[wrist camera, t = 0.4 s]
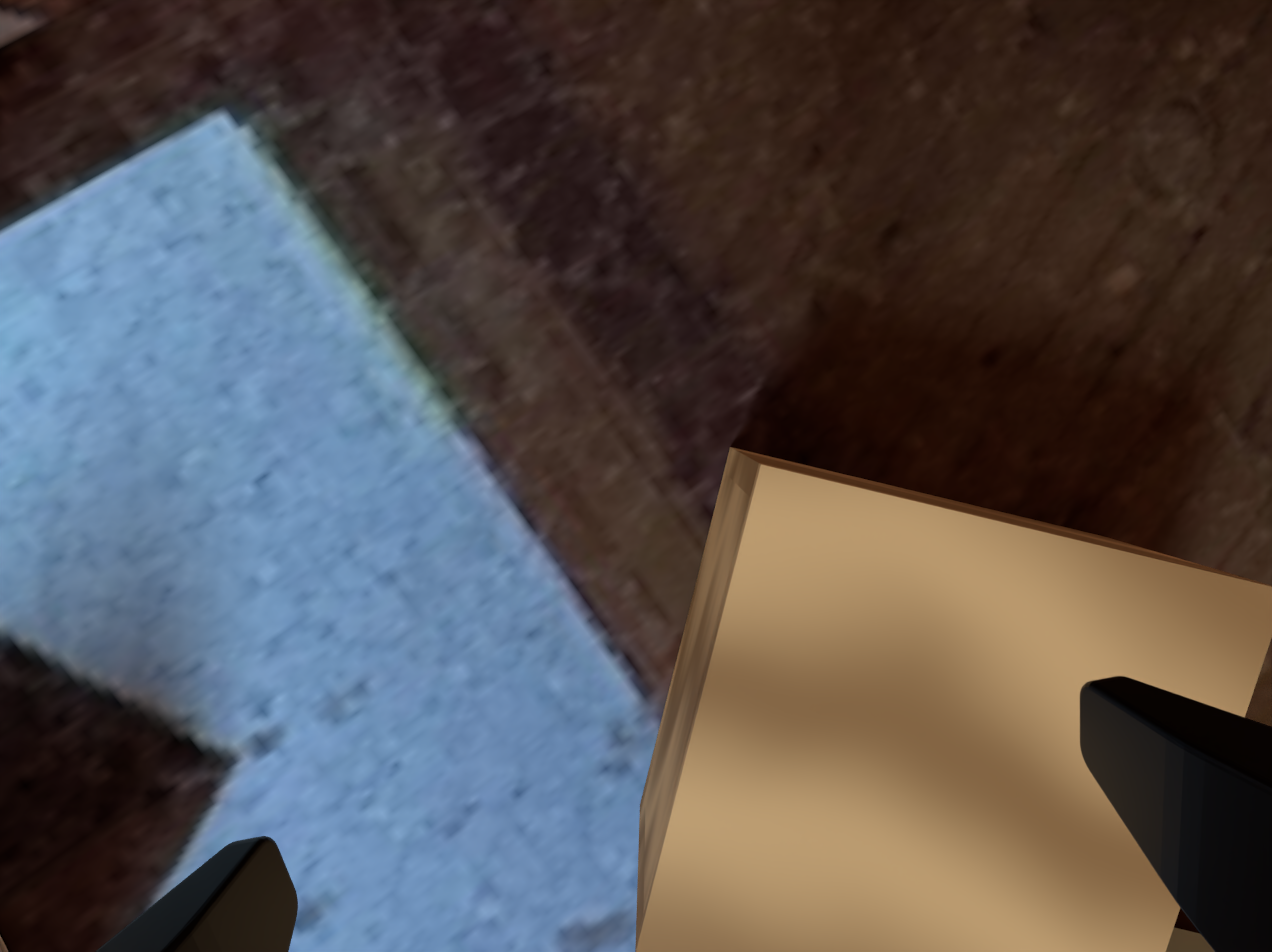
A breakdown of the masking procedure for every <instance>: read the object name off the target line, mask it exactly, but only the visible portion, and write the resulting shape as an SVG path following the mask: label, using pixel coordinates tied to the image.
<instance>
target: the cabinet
mask: <svg viewBox="0 0 1272 952" xmlns="http://www.w3.org/2000/svg"><path fill="white" fill-rule="evenodd" d="M1271 638H1272V586H1271V585H1267V584H1264V583H1261V582H1257V581H1254V580H1250V579H1247V578H1244V577H1240V576H1237V575H1233V574H1230V573H1227V572H1223V571H1220V570H1216V569H1213V568H1210V567H1206V566H1203V565H1200V564H1196V563H1193V562H1189V561H1186V560H1183V559H1179V558H1176V557H1172V556H1169V555H1166V554H1162V553H1159V552H1155V551H1152V550H1149V549H1145V548H1142V547H1139V546H1135V545H1132V544H1128V543H1125V542H1122V541H1118V540H1115V539H1111V538H1108V537H1104V536H1100V535H1096V534H1092V533H1087V532H1083V531H1079V530H1075V529H1071V528H1066V527H1062V526H1058V525H1054V524H1050V523H1046V522H1041V521H1037V520H1033V519H1029V518H1025V517H1021V516H1016V515H1012V514H1008V513H1004V512H1000V511H995V510H991V509H987V508H983V507H979V506H975V505H970V504H966V503H962V502H958V501H954V500H950V499H945V498H941V497H937V496H933V495H929V494H924V493H920V492H916V491H912V490H908V489H904V488H899V487H895V486H891V485H887V484H883V483H879V482H874V481H870V480H866V479H862V478H858V477H853V476H849V475H845V474H841V473H837V472H833V471H828V470H824V469H820V468H816V467H812V466H808V465H803V464H799V463H795V462H791V461H787V460H782V459H778V458H774V457H770V456H766V455H762V454H757V453H753V452H749V451H745V450H741V449H737V448H732V447H730V450H729V454H728V458H727V462H726V466H725V470H724V474H723V478H722V482H721V486H720V490H719V494H718V498H717V501H716V505H715V509H714V513H713V517H712V521H711V525H710V529H709V533H708V537H707V541H706V545H705V549H704V553H703V557H702V561H701V565H700V569H699V573H698V577H697V581H696V585H695V589H694V593H693V597H692V601H691V605H690V609H689V613H688V617H687V621H686V625H685V629H684V633H683V637H682V640H681V644H680V648H679V652H678V656H677V660H676V664H675V668H674V672H673V676H672V680H671V684H670V688H669V692H668V696H667V700H666V704H665V708H664V712H663V716H662V720H661V724H660V728H659V732H658V736H657V740H656V744H655V748H654V752H653V756H652V760H651V764H650V768H649V772H648V776H647V779H646V783H645V787H644V791H643V795H642V799H641V803H640V824H639V856H638V888H637V920H636V952H1166V949H1167V946H1168V943H1169V940H1170V937H1171V934H1172V931H1173V928H1174V925H1175V922H1176V919H1177V916H1178V913H1179V910H1180V906H1179V905H1178V904H1177V902H1176V901H1175V899H1174V898H1173V897H1172V895H1171V894H1170V892H1169V891H1168V889H1167V888H1166V886H1165V885H1164V884H1163V882H1162V881H1161V879H1160V878H1159V876H1158V875H1157V873H1156V872H1155V870H1154V869H1153V867H1152V866H1151V864H1150V862H1149V861H1148V859H1147V858H1146V856H1145V855H1144V853H1143V852H1142V850H1141V849H1140V847H1139V846H1138V844H1137V843H1136V841H1135V840H1134V838H1133V837H1132V835H1131V833H1130V832H1129V830H1128V829H1127V827H1126V826H1125V824H1124V823H1123V821H1122V820H1121V818H1120V817H1119V815H1118V814H1117V812H1116V811H1115V809H1114V808H1113V806H1112V804H1111V803H1110V801H1109V800H1108V798H1107V797H1106V795H1105V794H1104V792H1103V791H1102V789H1101V788H1100V786H1099V785H1098V783H1097V782H1096V780H1095V779H1094V777H1093V775H1092V774H1091V772H1090V771H1089V769H1088V767H1087V766H1086V763H1085V761H1084V759H1083V756H1082V753H1081V748H1080V691H1081V688H1082V686H1083V685H1084V684H1085V683H1087V682H1089V681H1093V680H1098V679H1103V678H1109V677H1114V676H1125V677H1129V678H1131V679H1134V680H1137V681H1140V682H1143V683H1146V684H1149V685H1152V686H1155V687H1158V688H1160V689H1163V690H1166V691H1169V692H1172V693H1175V694H1178V695H1181V696H1184V697H1187V698H1189V699H1192V700H1195V701H1198V702H1201V703H1204V704H1207V705H1210V706H1213V707H1216V708H1218V709H1221V710H1224V711H1227V712H1230V713H1233V714H1236V715H1239V716H1242V717H1245V715H1246V712H1247V709H1248V706H1249V703H1250V700H1251V697H1252V694H1253V691H1254V688H1255V685H1256V682H1257V679H1258V676H1259V673H1260V670H1261V667H1262V664H1263V661H1264V658H1265V655H1266V653H1267V650H1268V647H1269V644H1270V641H1271Z"/></svg>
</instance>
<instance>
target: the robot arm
mask: <svg viewBox="0 0 1272 952" xmlns="http://www.w3.org/2000/svg"><path fill="white" fill-rule="evenodd" d="M1080 748H1081V753H1082V756H1083V759H1084V761H1085V763H1086V766H1087V767H1088V769H1089V771H1090V772H1091V774H1092V775H1093V777H1094V779H1095V780H1096V782H1097V783H1098V785H1099V786H1100V788H1101V789H1102V791H1103V792H1104V794H1105V795H1106V797H1107V798H1108V800H1109V801H1110V803H1111V804H1112V806H1113V808H1114V809H1115V811H1116V812H1117V814H1118V815H1119V817H1120V818H1121V820H1122V821H1123V823H1124V824H1125V826H1126V827H1127V829H1128V830H1129V832H1130V833H1131V835H1132V837H1133V838H1134V840H1135V841H1136V843H1137V844H1138V846H1139V847H1140V849H1141V850H1142V852H1143V853H1144V855H1145V856H1146V858H1147V859H1148V861H1149V862H1150V864H1151V866H1152V867H1153V869H1154V870H1155V872H1156V873H1157V875H1158V876H1159V878H1160V879H1161V881H1162V882H1163V884H1164V885H1165V886H1166V888H1167V889H1168V891H1169V892H1170V894H1171V895H1172V897H1173V898H1174V899H1175V901H1176V902H1177V904H1178V905H1179V906H1180V908H1181V909H1182V910H1183V912H1184V913H1185V914H1186V915H1187V917H1188V918H1189V919H1190V921H1191V922H1192V923H1193V925H1194V926H1195V927H1196V929H1197V930H1198V931H1199V932H1200V934H1201V935H1202V936H1203V937H1204V939H1205V940H1206V941H1207V942H1208V944H1209V945H1210V946H1211V947H1212V949H1213V950H1214V951H1215V952H1272V727H1271V726H1268V725H1265V724H1262V723H1259V722H1256V721H1253V720H1250V719H1247V718H1245V717H1242V716H1239V715H1236V714H1233V713H1230V712H1227V711H1224V710H1221V709H1218V708H1216V707H1213V706H1210V705H1207V704H1204V703H1201V702H1198V701H1195V700H1192V699H1189V698H1187V697H1184V696H1181V695H1178V694H1175V693H1172V692H1169V691H1166V690H1163V689H1160V688H1158V687H1155V686H1152V685H1149V684H1146V683H1143V682H1140V681H1137V680H1134V679H1131V678H1129V677H1125V676H1114V677H1109V678H1103V679H1098V680H1093V681H1089V682H1087V683H1085V684H1084V685H1083V686H1082V688H1081V691H1080ZM297 909H298V901H297V894H296V890H295V888H294V885H293V883H292V880H291V878H290V875H289V873H288V871H287V868H286V866H285V863H284V861H283V858H282V856H281V854H280V851H279V849H278V846H277V845H276V843H275V841H274V840H273V839H271V838H270V837H266V836H261V837H256V838H250V839H245V840H240V841H235V842H232V843H230V844H228V845H227V846H225V847H224V848H223V849H222V850H220V851H219V852H218V853H217V854H215V855H214V856H213V857H212V858H210V859H209V860H208V861H207V862H206V863H204V864H203V865H202V866H201V867H199V868H198V869H197V870H196V871H194V872H193V873H192V874H191V875H189V876H188V877H187V878H186V879H185V880H183V881H182V882H181V883H180V884H178V885H177V886H176V887H175V888H173V889H172V890H171V891H170V892H169V893H167V894H166V895H165V896H164V897H162V898H161V899H160V900H159V901H157V902H156V903H155V904H154V905H153V906H151V907H150V908H149V909H148V910H146V911H145V912H144V913H143V914H141V915H140V916H139V917H138V918H136V919H135V920H134V921H133V922H132V923H130V924H129V925H128V926H127V927H125V928H124V929H123V930H122V931H120V932H119V933H118V934H117V935H116V936H114V937H113V938H112V939H111V940H109V941H108V942H107V943H106V944H104V945H103V946H102V947H101V948H99V949H98V950H97V951H96V952H288V950H289V946H290V942H291V938H292V934H293V930H294V926H295V922H296V917H297Z"/></svg>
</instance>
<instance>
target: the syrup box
mask: <svg viewBox="0 0 1272 952" xmlns="http://www.w3.org/2000/svg"><path fill="white" fill-rule="evenodd" d="M0 952H8V950H7V948H6V946H5V944H4V942H3V940H2V938H1V936H0Z"/></svg>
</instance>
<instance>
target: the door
mask: <svg viewBox="0 0 1272 952" xmlns="http://www.w3.org/2000/svg"><path fill="white" fill-rule="evenodd" d="M1166 952H1215V951H1214V950H1213V949H1212V947H1211V946H1210V945H1209V944H1208V942H1207V941H1206V940H1205V939H1204V937H1203V936H1202V935H1201V934H1200V933H1195V932H1191V931H1187V930H1183V929H1179V928H1173V931H1172V934H1171V937H1170V940H1169V943H1168V946H1167V949H1166Z"/></svg>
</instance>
